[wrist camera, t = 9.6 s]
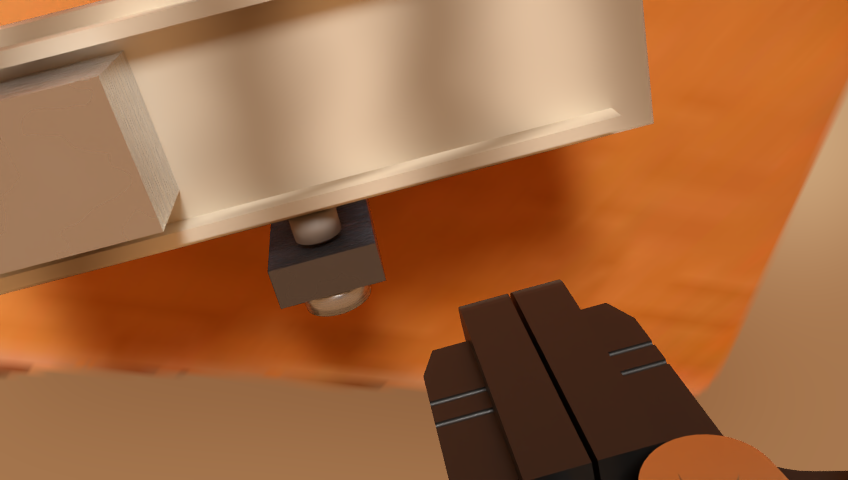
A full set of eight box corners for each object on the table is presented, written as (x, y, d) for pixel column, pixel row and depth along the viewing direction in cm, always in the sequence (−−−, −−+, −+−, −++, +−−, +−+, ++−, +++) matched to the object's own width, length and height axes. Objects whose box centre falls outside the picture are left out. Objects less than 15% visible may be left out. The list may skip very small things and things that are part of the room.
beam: (610, -166, 26) (646, -170, 23) (640, 138, 30) (673, 164, 28) (-171, 30, 25) (-229, 50, 22) (-13, 310, 30) (-44, 353, 27)
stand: (338, -189, 31) (356, -214, 22) (426, 182, 39) (469, 282, 29) (94, -129, 31) (8, -129, 22) (231, 234, 38) (211, 352, 29)
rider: (123, 49, 25) (98, 76, 22) (179, 189, 27) (163, 231, 24) (-92, 104, 25) (-149, 138, 22) (-18, 241, 27) (-60, 289, 24)
